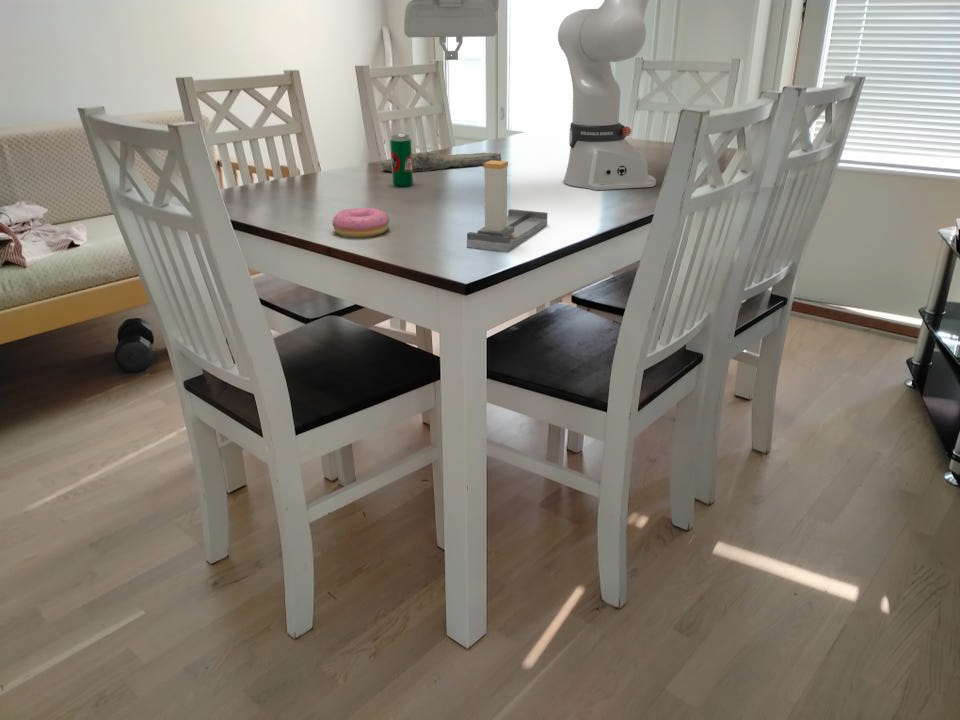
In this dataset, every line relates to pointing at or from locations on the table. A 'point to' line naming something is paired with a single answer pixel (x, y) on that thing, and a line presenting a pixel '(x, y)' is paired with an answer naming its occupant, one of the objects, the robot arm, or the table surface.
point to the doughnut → (360, 222)
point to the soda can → (401, 160)
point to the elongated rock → (445, 160)
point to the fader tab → (496, 199)
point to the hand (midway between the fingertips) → (451, 59)
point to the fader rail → (523, 229)
